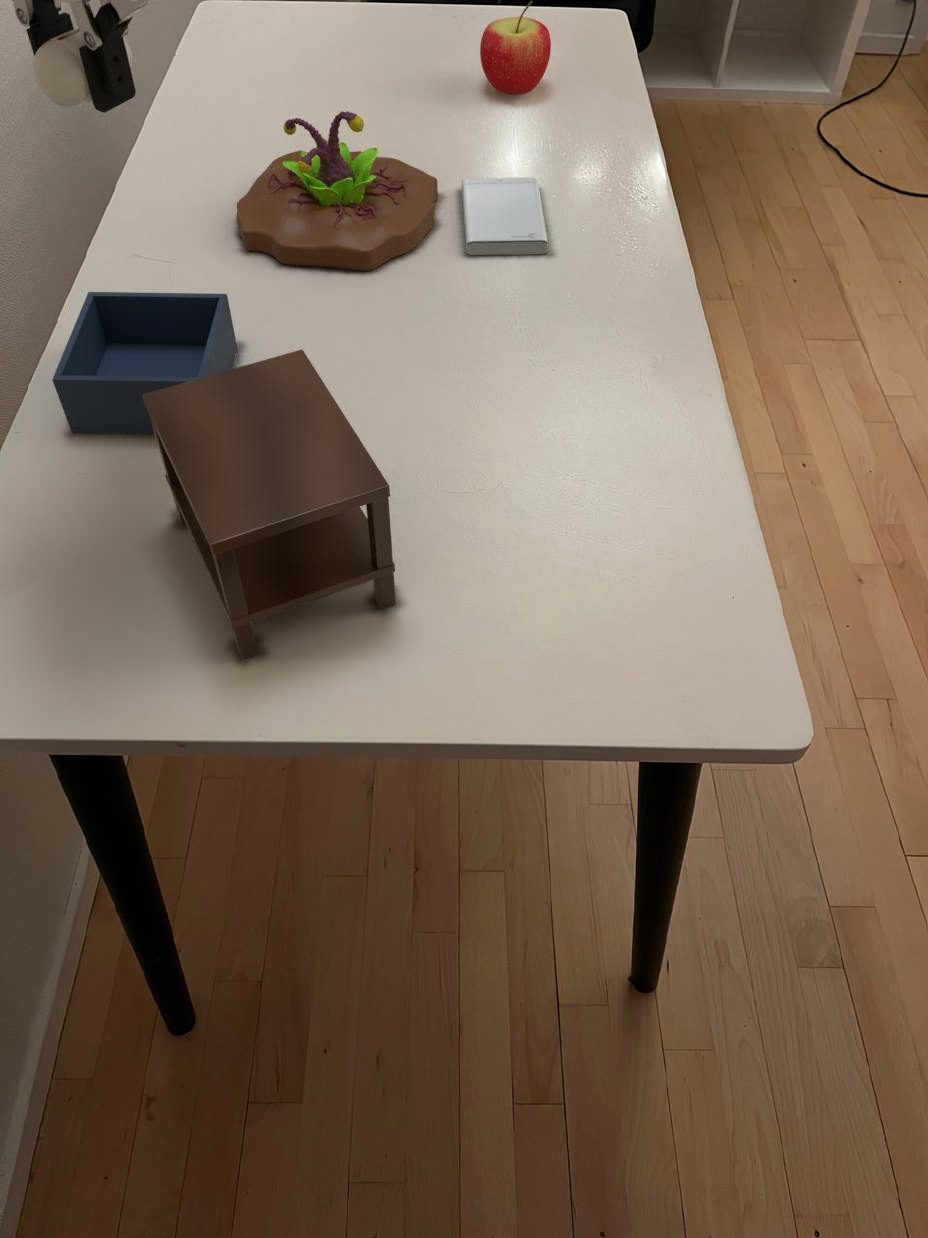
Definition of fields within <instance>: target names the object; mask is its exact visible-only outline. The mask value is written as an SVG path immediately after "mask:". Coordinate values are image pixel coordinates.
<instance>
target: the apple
mask: <svg viewBox="0 0 928 1238" xmlns="http://www.w3.org/2000/svg"><path fill="white" fill-rule="evenodd" d="M533 3H534V2H533V0H530V1H529V2H528V3H527V5H526V6H525V8H524V9H523V10H522V12H521V14H520V16H515V17H514V16H513V17H504V18H499V19H495V20H493V21H491V22H490V23H488V25H487V26H486V27H485V29H484V30H483V32H482V35H481V40H480V46H479V56H480V57H479V58H480V63H481V67H482V70H483V73H484V76H485V77H486V79H487V81H488V83H489V84H490V86H492V87H493V88H494V89H495V90H497V91H498V92H500V93H502V94H505V95H509V96H520V95H524V94H527V93H530V92H531V91H533V90H534V89H535V88H537V86H538V84H540V82H541V80H542V79H543V77H544V75H545V73H546V71H547V68H548V66H549V61H550V58H551V51H552V41H551V35H550V32H549V28H548V27H547V25H545V24H544V23H542V22H540V21H538V20H536V19H534V18H531V17H526V16H524V14H525V13H526V11H527V10H528V9H529V7H530V6H531V5H532V4H533Z"/></svg>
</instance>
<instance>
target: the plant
mask: <svg viewBox="0 0 928 1238" xmlns="http://www.w3.org/2000/svg"><path fill="white" fill-rule="evenodd" d="M342 120H345V121H346V123H347V125H348V127H349V129H350V130H351V131H352V132H355V133H360V132H363V129H364V126H365V122H364V120H363V119H362V117H361V116H360V115H357V113H354V112H352V111H351V112H350V111H348V110H346V111H340V112H339V113H338V114H336V115H335V116H334V119H333V120H332V122H331V124H330V127H329V130H328V131H329V132H328V138H327V139H326V138H324V137H323V136H322V134H321V133H320V132H319V130H318V129H316V127H315V126H313V124H311V123H309V122H308V121H306V120H304V119H302V118H299V117H295V118H291V119H290V118H289V119H288V120H285V122H284V124H283V131H284V133H285V134H286V135H288V136H293V134H295V133H296V131H297V125H298V126H300V127H303V129H304V130H306V131H308V133H309V135H310V137H311V139H313V140H314V142H315V144H316V147H313V148H312V149H310V150H309V151H306V150H305V151H304V150H296V151H293V152H289V153H286V154H284V155H283V154H282V155H281V156H279V157H277V158H275V159H274V160H273V161H271V163H270V164H269V165H268V166H267V167H266V168H265V170H264V171H263V172H262V173H261V174H260V175H259V176H258V177H257V178H256V180H255V181H254V182H253V183H252V185H251V187H250V188H249V189H248V191H247V193H246V194H245V195H243V197H241V198H240V199H239V200H238V201H237V203H236V222H237V229H238V234H239V235H240V238H242V240H243V244H244V249H245V250H246V251H253V252H254V251H255V252H257V251H258V252H263V253H267V254H269V255H271V256H273V258H276V260H278V262H279V263H281V264H285V265H290V266H308V267H322V268H326V267H327V268H335V269H336V268H337V269H345V270H355V271H366V272H367V271H373V270H375V269H377V268H379V267H380V266H382V265H383V264H384V263H386V262H388V261H390V260H391V259H393V258H396V257H399V256H402V255H405V254H407V253H409V252H410V251H412V250H413V249H414V248H416V246H418V245H419V243H420V242H421V241H422V240H423V238H424V237H425V236H426V235H427V233H429V231H430V230H432V228H433V226H434V223H435V205H434V203H435V202H436V200H437V199H438V197H439V191H438V179H437V177H435V176H433V175H430V174H428V173H427V172H425V171H423V170H421V169H419V168H417V167H415V166H412V165H410V164H409V163H406V162H404V161H402V160H400V159H397V158H394V157H389V156H388V157H386V156H378V155H379V152H380V151H379V148H378V147H371V148H367V149H365V150H362V151H361V150H357V151H350V150H349V147H348V145H347V144H346V142H344V141H341V142H340V137H339V133H340V131H339V128H340V127H341V121H342Z"/></svg>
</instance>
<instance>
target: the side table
mask: <svg viewBox="0 0 928 1238" xmlns="http://www.w3.org/2000/svg"><path fill="white" fill-rule="evenodd" d="M142 398H143V401H144V405H145V407H146V409H147V411H148V414H149V416H150V420H151V423H152V427H153V430H154V434H153V435H154V438H155V440H156V444H157V447H158V451H159V455H160V457H161V461H162V464H163V468H164V472H165V475H164V476H165V480H166V483H167V485H168V487H169V490H170V493H171V496H172V500H173V503H174V506H175V510H176V514H177V517H178V518H179V519H178V520H179V521H180V523H181V525H182V526H184V525H185V526H186V527H187V530H188V532H189V534H190V536H191V539H192V541H193V543H194V545H195V548H196V550H197V552H198V555H199V557H200V558H201V559H200V560H201V561H202V564H203V565H204V567H205V570H206V572H207V574H208V576H209V579H210V582H211V584H212V586H213V588H214V589H215V592H216V594H217V596H218V599H219V602H220V603H221V605H222V608H223V611H224V613H225V614H226V617H227V619H228V621H229V623H230V626H231V631H232V634H233V637H234V641H235V645H236V649H237V651H238V653H239V656H240V657H241V659H242V660H247V659H248V658H251V657H254V656H257V655H259V651H258V646H257V642H256V636H255V633H254V629H253V625H252V623H255V622H258V621H260V620H264V619H267V618H268V617H272V616H274V615H277V614H280V613H283V612H285V611H288V610H292V609H294V608H297V607H300V606H303V605H305V604H308V603H312V602H314V601H317V600H319V599H322V598H326V597H328V596H330V595H333V594H336V593H339V592H342V591H344V590H347V589H350V588H353V587H356V586H359V585H362V584H364V583H367V582H370V581H372V583H373V593H374V600H375V601H376V603H377V605H378V606H379V608H380V609H381V610H383V609H386V608H389V607H392V606H394V605H396V604H397V602H396V601H397V600H396V588H395V586H396V585H395V572H396V564H395V562H394V557H393V546H392V529H391V515H390V502H389V501H390V499H389V497H391V491H390V489H391V488H390V484H389V483H388V482H387V480H386V479H385V476H384V474H382V472H381V470H380V469H379V468H378V465H377V464H376V462H375V461H374V459H373V458H372V456H371V455H370V453H369V452H368V450H367V448H366V447H365V446H364V443H363V442H362V440H361V439H360V437H359V436H358V434H357V433H356V431H355V429H354V428H353V427H352V424H351V423H350V421H349V420H348V418H347V417H346V416H345V413H344V412H343V411H342V409H341V408H340V406H339V405H338V403H337V401H336V400H335V398H334V396H333V395H332V394H331V392H330V391H329V389H328V387H327V386H326V384H325V382H324V381H323V378H321V376H320V375H319V373H318V372H317V370H316V368H315V366H314V365H313V364H312V362H311V361H310V359H309V357H308V355H307V354H306V353H305V351H304V349H298V350H295V351H292V352H288V353H284V354H281V355H277V356H274V357H270V358H267V359H263V360H260V361H259V360H258V361H255V362H253V363H249V364H245V365H242V366H238V367H235V368H232V369H231V370H227V371H224V372H220V373H217V374H213V375H210V376H206V377H203V378H199V379H196V380H192V381H189V382H185V383H181V384H178V385H174V386H171V387H167V388H164V389H160V390H157V391H153V392H150V393H146V394H143V395H142ZM363 506H366V507H365V508H366V515H365V512H364V510H363V509H362V508H361V507H363Z"/></svg>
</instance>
